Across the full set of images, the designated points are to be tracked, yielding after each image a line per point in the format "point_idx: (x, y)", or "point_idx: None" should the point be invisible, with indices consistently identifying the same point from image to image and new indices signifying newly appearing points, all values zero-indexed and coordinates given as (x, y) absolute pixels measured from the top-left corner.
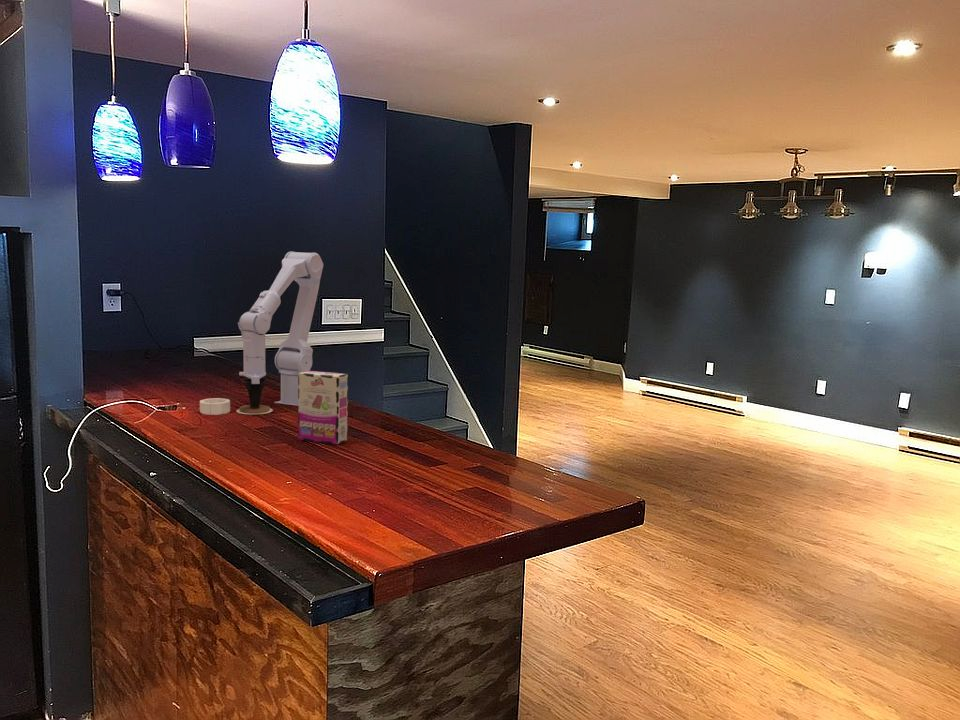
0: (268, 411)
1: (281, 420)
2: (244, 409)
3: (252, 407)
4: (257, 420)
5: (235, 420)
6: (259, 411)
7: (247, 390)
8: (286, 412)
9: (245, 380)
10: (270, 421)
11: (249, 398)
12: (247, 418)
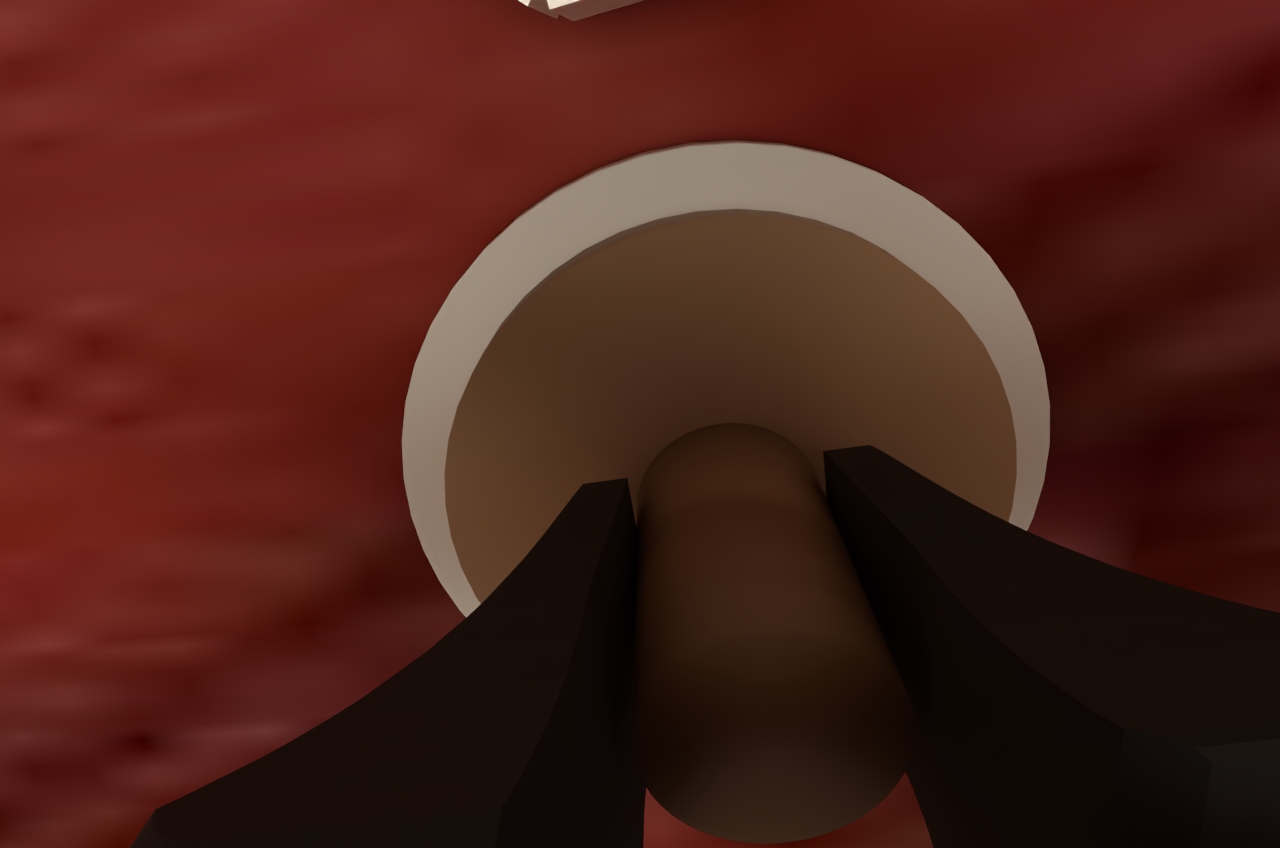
0: None
1: None
2: (545, 346)
3: (641, 489)
4: (148, 557)
5: (51, 216)
6: (484, 592)
7: (367, 694)
8: (721, 842)
9: (1149, 803)
10: (130, 716)
11: (521, 563)
12: (257, 399)
